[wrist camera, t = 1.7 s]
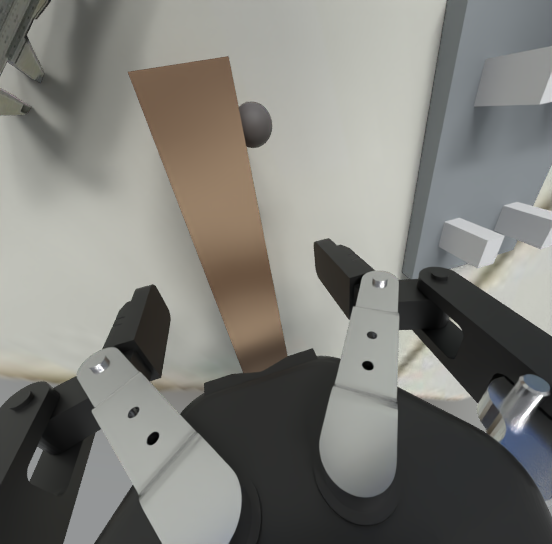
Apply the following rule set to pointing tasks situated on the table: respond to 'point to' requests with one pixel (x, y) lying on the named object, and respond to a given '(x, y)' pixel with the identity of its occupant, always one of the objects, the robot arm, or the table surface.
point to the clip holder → (485, 137)
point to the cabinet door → (218, 193)
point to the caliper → (18, 47)
